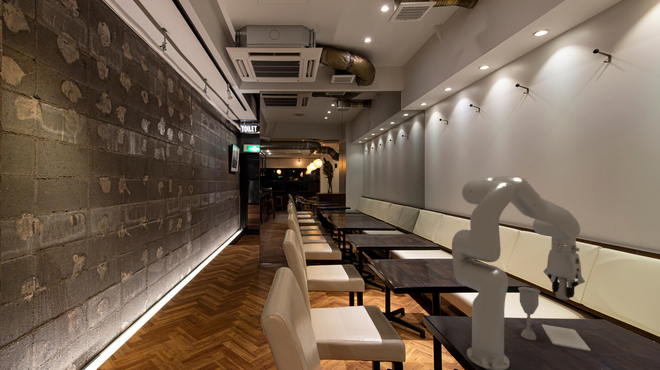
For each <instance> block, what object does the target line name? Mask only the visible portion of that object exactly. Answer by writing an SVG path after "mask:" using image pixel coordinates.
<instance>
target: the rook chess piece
mask: <svg viewBox="0 0 660 370" xmlns="http://www.w3.org/2000/svg"><path fill="white" fill-rule="evenodd" d="M558 282H559V289H558V291H557V292H556V293H555V297H556V298H557V299H561V300H570V299H571V298H568V297H567V296H566V292H567V287H568V283H567V279H565V278H561V277H559V278H558Z"/></svg>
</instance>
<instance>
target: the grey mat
mask: <svg viewBox="0 0 660 370" xmlns="http://www.w3.org/2000/svg"><path fill="white" fill-rule="evenodd" d="M541 327H542V329H543V330H544V332H545V334H546V336H547V337H548V339H549V340H550V342H551V344H552V345H555V346H560V347H567V348H572V349H578V350H583V351H589V352H591V348H590V347H589V346H588V344H587V343H586V342H585V340H583V339H582V337H581V336H580V335H579V333H578V332H577V331H576V330H575V329H574V328H568V327H561V326H555V325H554V326H553V325H548V324H544V323H543V324H541Z"/></svg>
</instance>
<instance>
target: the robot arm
mask: <svg viewBox="0 0 660 370" xmlns="http://www.w3.org/2000/svg"><path fill="white" fill-rule="evenodd" d="M461 194H462V197H463V200H464V201H465V202H466V203H468V204H471V205H476V206H475V208H474V209H473V211H472V212H471V215H470V219H469V225H470V227H469V228H470V229H460V230H458V231H457V232H456V233H455V234H454V236H453V237H452V242H451V255H452V265H453V274H454V277H455V279H456V281H457V282H458V283H459V284H460V285H463V286H466V287H467V288H470V289H473V290H475V291H477V292H478V294H477V296H475V297H474V299H473V301H472V304H471V305H472V308H471V346H469V348H467V350H466V356H467V358H468V359H469V360H470V361H471V362H472V363H474V364H475V365H477V366H479V367H480V368H484V369H486V370H507V369H509V367H510V359H509V357H507V355H505V307H506V304H505V303H506V298H507V297H506V296H507V293H508V292H507V291H508V289H509V288H508V287H509V282H510V281H509V277H508V275H507V273H506V272H505V271H504V270H503V269H501V268H500V267H497V266H496V265H495V266H494V265H492V264H489V263H495V262H497V261H498V260H499V259H500V257H501V237H500V236H501V234H500V218H501V215H502V213H503V212H504V210H505V209H506V207H507V206H508V205H509V204H512V205H513V206H514V207H515V208H516V209H517V210H518V211H519V212H520V213H521V214H522V215H524V216H525V217H529V218H530V219H534V220H533V223H532V228H533V230H534V232H535V233H537V234H538V235H540V236H544V237H551V246H550V247H551V249H550V250H549V252H548V255H547V264H546V268H545V269H544V270H543V271H542V272H543V273H544V274H545V276H547V278H548V279H549V280H550V282H551V290H552V293H553V294H556V292H557V291H558V289H559V280H558V278H559V277H561V278H565V279H567V284H568V285H567V292H566V296H567V297H568V298H570V299H571V298H574V296H575V288H576V287H577V286H579V285H581V284H584V283H585V282H586V281H585V279H584V278H583V276H582V266H581V265H582V264H581V259H580V254H579V253H577V252H580V248H579V247H577V238H578V237H579V235H580V233H581V225H580V224H579V221H578V220H577V219H576V217H575V216H574V215H573V214H572V213H571V212H570V211H569V210H567V209H566V208H564V207H563V206H560V205H558V204H555V203H554V202H552V201H549V200H548V199H544V198H543V197H542V196H541V195H540V193H538V191H536V190H535V188H534V187H533V186H532V185H531V184H530V182H528V181H527V180H526V179H525V178H524V177H521V176H516V175H513V176H512V175H508V176H504V175H503V176H501V175H499V176H491V177H486V178H481V179H474V180H470V181H467V182H466V183H465V184H464V186H463V187H462V191H461ZM485 262H486V263H485Z"/></svg>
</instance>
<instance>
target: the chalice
mask: <svg viewBox="0 0 660 370" xmlns="http://www.w3.org/2000/svg"><path fill="white" fill-rule="evenodd" d="M517 289H518V291H519V303H520V306H521V308H522V310H523V312H524V313H525V314H526V316H527V317H526V323H525V324H526V328H523V330H522V331H521V333H520V336H521V337H522V338H525V339H527V340H531V341H535V340H537V339H538V338H537V336H536V334H535V332H534V331H533V329H532V328H531V325H532V323H531V321H532V318H531V315H534V314H535V312H536V310H537V309H538V307H539V303H540V302H539V297H540V296H539V295H540V293H541V290H539V289H537V288H533V287H527V286H521V287H520V286H519V287H518V288H517Z"/></svg>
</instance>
